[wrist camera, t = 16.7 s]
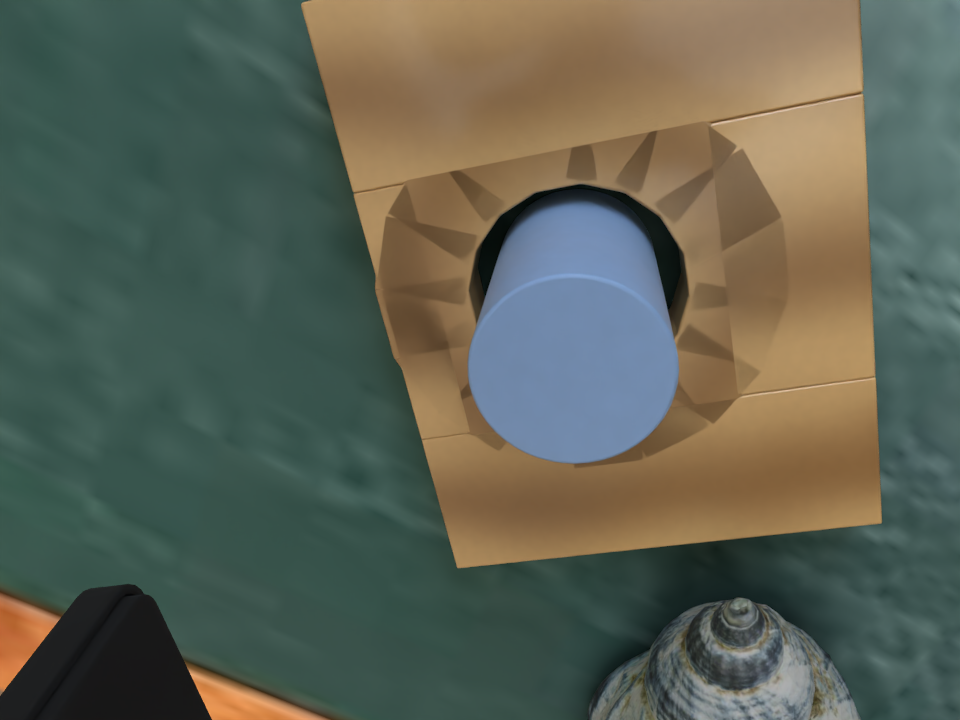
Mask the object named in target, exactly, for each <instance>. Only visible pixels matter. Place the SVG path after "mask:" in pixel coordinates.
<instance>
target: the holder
mask: <svg viewBox="0 0 960 720" xmlns="http://www.w3.org/2000/svg"><path fill="white" fill-rule="evenodd" d="M301 7H302V11H303V15H304V18H305V22H306V25H307V29H308V33H309V36H310V40H311V43H312V47H313V51H314V54H315V58H316V61H317V65H318V69H319V72H320V76H321V79H322V83H323V86H324V90H325V94H326V97H327V101H328V104H329V108H330V112H331V115H332V119H333V122H334V126H335V130H336V133H337V137H338V140H339V144H340V148H341V151H342V155H343V158H344V162H345V165H346V169H347V173H348V176H349V180H350V183H351V187H352V190H353V192H354V193H355V194H354V199H355V203H356V206H357V210H358V213H359V217H360V221H361V224H362V228H363V231H364V235H365V239H366V242H367V246H368V249H369V253H370V257H371V260H372V264H373V267H374V271H375V274H376V281H375V292H376V296H377V299H378V303H379V306H380V310H381V313H382V317H383V320H384V324H385V328H386V331H387V335H388V338H389V342H390V345H391V349H392V352H393V356H394V358H395V359H396V362H397V363H398V364H399V365H400V367H401V368H402V371H403V375H404V379H405V382H406V386H407V389H408V393H409V396H410V400H411V404H412V407H413V411H414V414H415V418H416V422H417V425H418V429H419V432H420V436H421V439H422V443H423V447H424V450H425V454H426V457H427V461H428V465H429V468H430V472H431V475H432V479H433V483H434V486H435V490H436V493H437V497H438V500H439V504H440V508H441V511H442V515H443V518H444V522H445V526H446V529H447V533H448V536H449V540H450V544H451V547H452V551H453V554H454V558H455V561H456V565H457V568H466V567H475V566H485V565H494V564H503V563H513V562H522V561H532V560H541V559H551V558H560V557H570V556H579V555H588V554H598V553H607V552H617V551H626V550H636V549H645V548H655V547H664V546H673V545H683V544H692V543H702V542H711V541H721V540H730V539H740V538H749V537H758V536H768V535H777V534H787V533H796V532H806V531H815V530H825V529H834V528H843V527H853V526H862V525H872V524H881V523H882V511H881V487H880V463H879V439H878V414H877V390H876V378H875V350H874V326H873V302H872V277H871V253H870V229H869V205H868V181H867V157H866V133H865V108H864V95H863V94H862V93H861V92H863V89H864V84H863V60H862V36H861V12H860V0H310V1H306V2H303V3H302V4H301ZM578 184H584V185H588V186H593V187H598V188H603V189H608V190H613V191H618V192H623V193H625V194H627V195H628V196H630V197H631V198H633V199H634V200H636V201H637V202H639V203H640V204H641V205H643V206H644V207H646V208H647V209H649V210H650V211H652V212H653V213H655V214H656V215H658V216H659V217H660V218H661V219H662V221H663V222H664V224H665V226H666V227H667V229H668V230H669V232H670V234H671V235H672V237H673V238H674V240H675V242H676V243H677V245H678V250H679V258H680V265H681V274H680V277H679V281H678V284H677V287H676V291H675V294H674V298H673V301H672V304H671V307H670V309H669V310H668V313H669V318H670V322H671V326H672V331H673V335H674V340H675V344H676V349H677V353H678V360H679V377H678V385H677V389H676V393H675V396H674V399H673V401H672V404H671V406H670V408H669V410H668V412H667V413H666V415H665V417H664V418H663V420H662V421H661V422H660V424H659V425H658V426H657V427H656V428H655V429H654V430H653V431H652V432H651V433H650V434H649V435H648V436H647V437H646V438H645V439H644V440H642V441H641V442H640V443H639V444H637V445H636V446H634V447H632V448H631V449H629V450H627V451H626V452H623V453H621V454H619V455H617V456H614V457H611V458H608V459H605V460H601V461H596V462H590V463H578V464H572V463H559V462H552V461H548V460H544V459H540V458H537V457H534V456H532V455H529V454H527V453H525V452H523V451H521V450H519V449H517V448H515V447H514V446H512V445H511V444H510V443H508V442H507V441H505V440H504V439H503V438H502V437H501V436H499V435H498V434H497V433H496V432H495V431H494V430H493V429H492V427H491V426H490V425H489V424H488V423H487V422H486V420H485V419H484V417H483V416H482V414H481V413H480V411H479V409H478V407H477V405H476V403H475V401H474V399H473V396H472V392H471V389H470V385H469V379H468V355H469V349H470V345H471V341H472V338H473V335H474V331H475V328H476V325H477V322H478V319H479V316H480V313H481V309H482V306H483V303H484V300H485V296H484V292H483V287H482V283H481V279H480V274H479V270H478V264H479V259H480V253H481V248H482V242H483V240H484V239H485V238H486V236H487V235H488V233H489V232H490V230H491V229H492V227H493V226H494V224H495V223H496V221H497V220H498V218H499V217H500V216H501V215H502V214H504V213H505V212H507V211H508V210H510V209H512V208H513V207H515V206H516V205H518V204H519V203H521V202H522V201H524V200H525V199H527V198H528V197H530V196H531V195H533V194H534V193H536V192H542V191H547V190H552V189H557V188H563V187H568V186H573V185H578Z"/></svg>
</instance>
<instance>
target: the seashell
mask: <svg viewBox="0 0 960 720" xmlns="http://www.w3.org/2000/svg"><path fill="white" fill-rule="evenodd" d="M588 720H861V718H860V716H859V714H858V712H857V709H856V707H855V704H854V701H853V698H852V696H851V693H850V691H849V689H848V687H847V685H846V683H845V681H844V679H843V677H842V676H841V675H840V673H839V672H838V671H837V669H836V667H835V666H834V664H833V662H832V660H831V658H830V656H829V655H828V654H827V653H826V652H825V651H824V650H823V649H821V648H820V646H819V645H818V644H817V642H816V641H815V640H814V639H813V638H812V637H811V636H810V635H809V634H808V633H807V632H805V631H803V630H802V629H800V628H798V627H797V626H795V625H793V624H791V623H789V622H787V621H785V620H784V619H783V618H782V617H781V616H780V614H778V613H777V612H776V611H774V610H773V609H772V608H770V607H769V606H767V605H765V604H756V603H755V602H751V601H750V600H748V599H745V598H741V597H736V598H735V599H731V600H722V601H717V602H711V603H705V604H702V605H699V606H696V607H693V608H690V609H688V610H687V611H685V612H684V613H682V614H681V615H679V616H678V617H676V618H675V619H673V620H672V621H671V622H669V623H668V624H667V625H666V626H665V627H664V628H663V630H662V631H661V633H660V634H659V635H658V637H657V638H656V640H655V641H654V643H653V645H652V646H651V648H650V649H649V650H647V651H645V652H643V653H641V654H639V655H638V656H636V657H634V658H632V659H630V660H628V661H626V662H624V663H623V664H622V665H620V666H619V667H618V668H617V669H615V670H614V671H613V672H612V673H610V674H609V675H608V676H607V677H606V678H605V679H604V680H603V681H602V683H601V684H600V686H599V687H598V689H597V690H596V692H595V694H594V696H593V697H592V699H591V701H590V704H589V708H588Z"/></svg>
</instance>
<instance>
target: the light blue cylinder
mask: <svg viewBox="0 0 960 720" xmlns="http://www.w3.org/2000/svg"><path fill="white" fill-rule="evenodd" d="M678 377H679V360H678V353H677V349H676V344H675V340H674V335H673V331H672V326H671V322H670V318H669V313H668V309H667V305H666V300H665V296H664V291H663V287H662V283H661V278H660V274H659V270H658V265H657V261H656V256H655V252H654V248H653V243H652V240H651V238H650V235H649V233H648V231H647V229H646V227H645V225H644V224H643V222H642V221H641V219H640V218H639V217H638V216H637V215H636V214H635V212H634V211H633V210H632V209H630V208H629V207H628V206H627V205H625V204H624V203H623V202H621V201H619V200H618V199H616V198H614V197H612V196H610V195H607V194H605V193H601V192H598V191H594V190H586V189H570V190H562V191H558V192H554V193H551V194H549V195H546V196H544V197H542V198H540V199H538V200H536V201H535V202H533V203H532V204H530V205H529V206H528V207H526V208H525V209H524V210H523V211H522V212H521V213H520V214H519V215H518V216H517V217H516V219H515V220H514V221H513V223H512V224H511V226H510V228H509V229H508V231H507V233H506V235H505V238H504V240H503V243H502V246H501V249H500V253H499V256H498V259H497V262H496V265H495V268H494V272H493V275H492V278H491V281H490V284H489V287H488V290H487V294H486V297H485V300H484V303H483V306H482V309H481V313H480V316H479V319H478V322H477V325H476V328H475V331H474V335H473V338H472V341H471V345H470V349H469V355H468V379H469V385H470V389H471V392H472V396H473V399H474V401H475V403H476V405H477V407H478V409H479V411H480V413H481V414H482V416H483V417H484V419H485V420H486V422H487V423H488V424H489V425H490V426H491V427H492V429H493V430H494V431H495V432H496V433H497V434H498V435H499V436H501V437H502V438H503V439H504V440H505V441H507V442H508V443H510V444H511V445H512V446H514V447H515V448H517V449H519V450H521V451H523V452H525V453H527V454H529V455H532V456H534V457H537V458H540V459H544V460H548V461H552V462H559V463H572V464H578V463H590V462H596V461H601V460H605V459H608V458H611V457H614V456H617V455H619V454H621V453H623V452H626V451H627V450H629V449H631V448H632V447H634V446H636V445H637V444H639V443H640V442H641V441H642V440H644V439H645V438H646V437H647V436H648V435H649V434H650V433H651V432H652V431H653V430H654V429H655V428H656V427H657V426H658V425H659V424H660V422H661V421H662V420H663V418H664V417H665V415H666V413H667V412H668V410H669V408H670V406H671V404H672V401H673V399H674V396H675V393H676V389H677V385H678Z"/></svg>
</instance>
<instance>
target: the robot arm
mask: <svg viewBox="0 0 960 720" xmlns="http://www.w3.org/2000/svg"><path fill="white" fill-rule="evenodd" d="M0 720H212V719H211V717H210V715H209V713H208V711H207V709H206V706H205V704H204V702H203V700H202V698H201V696H200V694H199V692H198V690H197V688H196V685H195V683H194V681H193V679H192V677H191V675H190V673H189V671H188V669H187V667H186V664H185V662H184V660H183V658H182V656H181V654H180V652H179V650H178V648H177V645H176V643H175V641H174V639H173V637H172V635H171V633H170V631H169V629H168V627H167V624H166V622H165V620H164V618H163V616H162V614H161V612H160V610H159V608H158V606H157V603H156V602H155V600H154V599H153V598H152V597H151V596H149V595H144V593H143V592H142V590H141V589H140V588H138V587H137V586H135V585H131V584H126V585H117V586H108V587H99V588H91V589H88V590H85V591H83V592H82V593H81V594H80V595H79V596H78V597H77V598H76V599H75V601H74V602H73V603H72V605H71V606H70V607H69V608H68V610H67V611H66V612H65V614H64V615H63V616H62V617H61V619H60V620H59V621H58V622H57V624H56V625H55V626H54V628H53V629H52V630H51V631H50V633H49V634H48V635H47V637H46V638H45V639H44V640H43V642H42V643H41V644H40V646H39V647H38V648H37V649H36V651H35V652H34V653H33V655H32V656H31V657H30V658H29V660H28V661H27V662H26V664H25V665H24V666H23V667H22V669H21V670H20V671H19V673H18V674H17V675H16V676H15V678H14V679H13V680H12V682H11V683H10V684H9V685H8V687H7V688H6V689H5V691H4V692H3V693H2V694H1V696H0Z"/></svg>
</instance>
